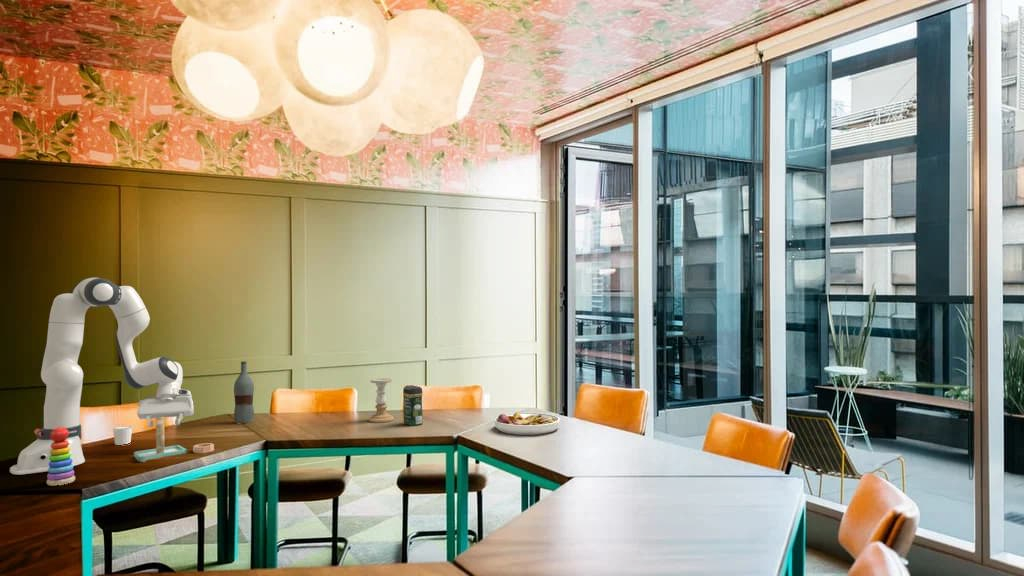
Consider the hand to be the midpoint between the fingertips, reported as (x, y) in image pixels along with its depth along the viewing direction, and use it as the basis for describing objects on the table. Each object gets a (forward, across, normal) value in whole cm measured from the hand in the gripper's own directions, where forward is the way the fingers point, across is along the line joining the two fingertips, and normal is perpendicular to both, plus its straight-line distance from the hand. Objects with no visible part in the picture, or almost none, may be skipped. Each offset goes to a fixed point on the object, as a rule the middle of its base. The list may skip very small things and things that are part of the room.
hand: (164, 424), depth 256 cm
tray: (+12, 0, +3) cm, 13 cm away
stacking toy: (+32, -25, -17) cm, 44 cm away
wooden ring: (+12, +15, +3) cm, 20 cm away
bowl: (+17, +150, 0) cm, 151 cm away
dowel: (+12, 0, +2) cm, 12 cm away
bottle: (-30, +26, +46) cm, 61 cm away
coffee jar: (-5, +103, +22) cm, 106 cm away
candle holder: (-16, +90, +32) cm, 97 cm away
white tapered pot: (-8, -20, +24) cm, 32 cm away
